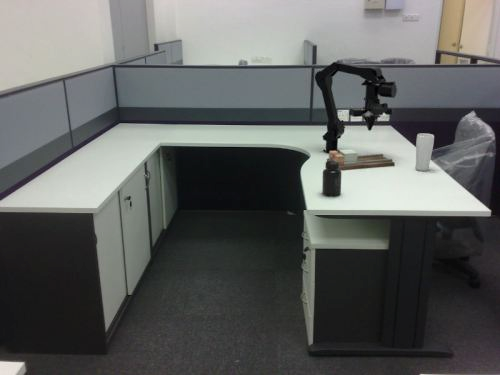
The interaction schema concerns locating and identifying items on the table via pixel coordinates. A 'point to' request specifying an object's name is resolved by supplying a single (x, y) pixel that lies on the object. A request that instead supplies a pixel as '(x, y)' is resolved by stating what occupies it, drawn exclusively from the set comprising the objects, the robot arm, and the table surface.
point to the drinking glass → (424, 151)
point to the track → (360, 161)
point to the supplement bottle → (331, 179)
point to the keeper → (349, 155)
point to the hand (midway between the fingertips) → (369, 130)
